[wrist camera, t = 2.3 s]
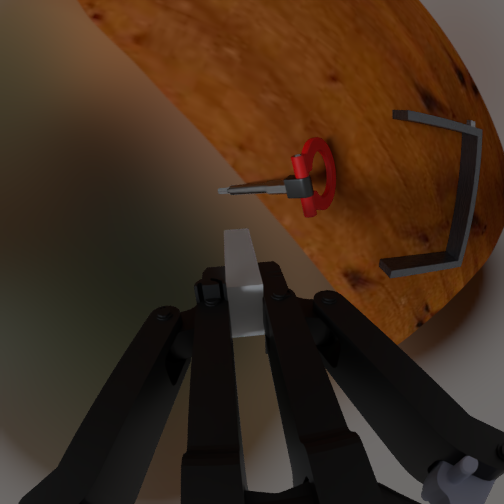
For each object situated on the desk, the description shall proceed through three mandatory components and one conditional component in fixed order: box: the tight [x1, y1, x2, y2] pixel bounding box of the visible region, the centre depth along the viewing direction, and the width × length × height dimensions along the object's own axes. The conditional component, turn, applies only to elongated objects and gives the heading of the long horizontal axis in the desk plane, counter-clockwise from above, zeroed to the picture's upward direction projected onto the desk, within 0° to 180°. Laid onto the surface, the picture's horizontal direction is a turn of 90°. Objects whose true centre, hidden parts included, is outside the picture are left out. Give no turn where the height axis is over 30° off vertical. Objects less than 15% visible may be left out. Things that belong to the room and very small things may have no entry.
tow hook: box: [218, 137, 336, 217], centre depth 27 cm, size 7×10×7 cm
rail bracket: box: [379, 110, 482, 278], centre depth 28 cm, size 21×14×3 cm, turn 2°
